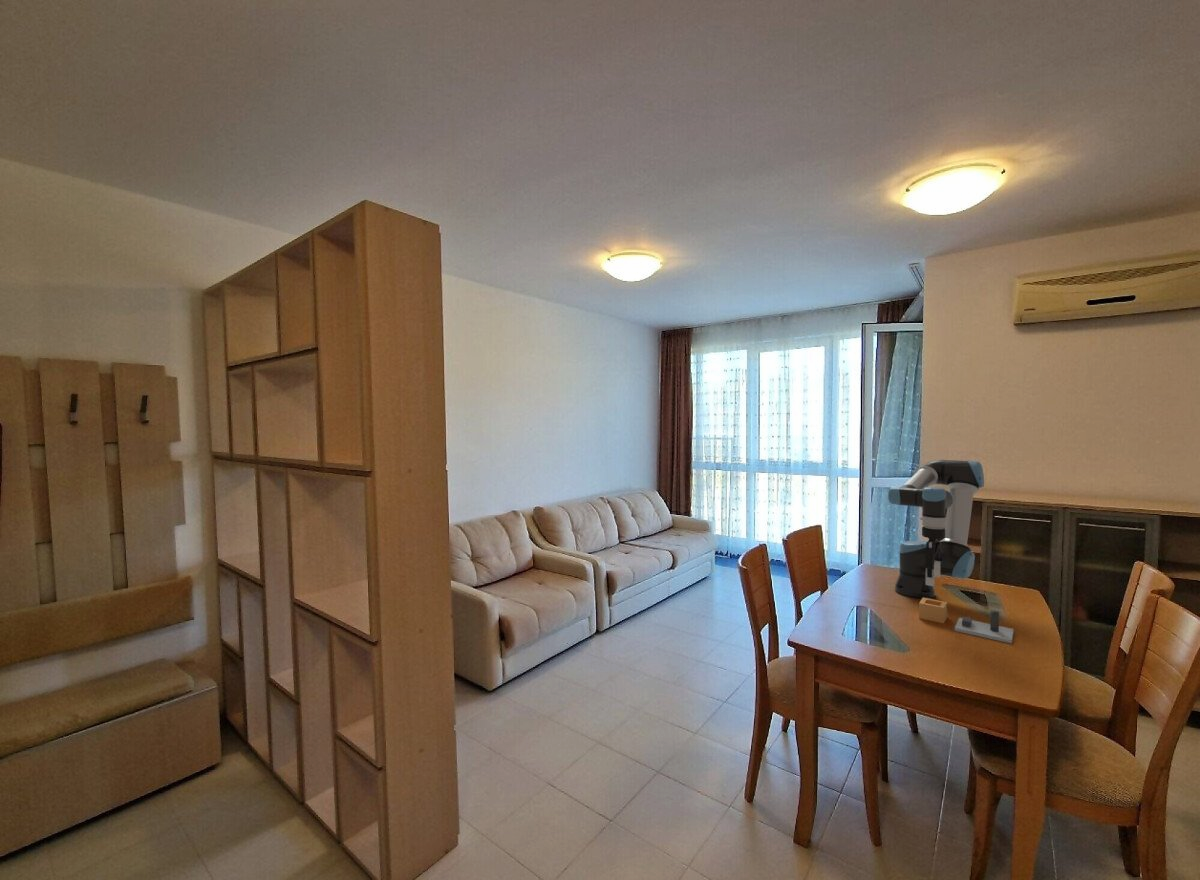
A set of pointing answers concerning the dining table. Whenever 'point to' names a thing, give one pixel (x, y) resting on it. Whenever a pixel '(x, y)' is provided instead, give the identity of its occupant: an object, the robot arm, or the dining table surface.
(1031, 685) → the dining table surface
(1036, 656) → the dining table surface
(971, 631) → the keeper board
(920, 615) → the link
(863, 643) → the dining table surface
